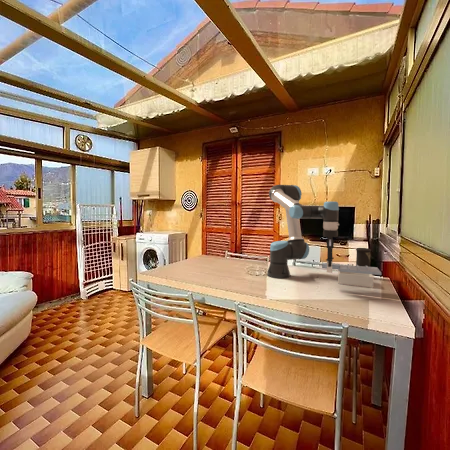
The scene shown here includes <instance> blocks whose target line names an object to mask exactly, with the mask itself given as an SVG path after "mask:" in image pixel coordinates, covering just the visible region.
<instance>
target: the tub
mask: <svg viewBox="0 0 450 450" xmlns="http://www.w3.org/2000/svg"><path fill="white" fill-rule="evenodd" d="M337 272H338V273H337V282H338V283H337V284H339V285H346V286H355V287H363V288H372V289H373V288H374V279H375V278H374V274H363V273H352V272H341V271H339V270H338V271H337Z"/></svg>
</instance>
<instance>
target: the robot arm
mask: <svg viewBox="0 0 450 450" xmlns="http://www.w3.org/2000/svg"><path fill="white" fill-rule="evenodd" d="M268 196H269V199H270V200H271V201H272V202H274V203H277V204H279V205H280V206H281V207H282V208H284V209H285V216H286V224H287V231H288V232H287V233H288V239H287V240H277V241H273V242H271V243H270V247H269V251H270V252H269V259H270V260H269V266H268V268H267V271H266V272H267V273H266V276H267V277H269V278H274V279H287V278H290V277H291V272H290V268H289V266H288V261H292V260H299V261H300V260H305V259H306V258H308V256H309V253H310V245H309V243H307V242H306V241H305V238H303V235H302V230H301V223H300V221H301V220H300V219H317V220H318V219H322V220H323V223H322V228H323V230H322V231H323V232H322V236H323V238H324V237H325V238H327V239H326V242H325V243H326V249H327V252H326V253H327V255H326V256H327V257H326V259H325V261H326V263H327V269H326V273H331V274H333V269H332V263H333V260H334V258H335V257H334V256H333V250H334V244H335V240H334V239H333V238H338V236H339V230H338V229H339V226H340V223H339V213H340V212H339V210H340V207H339V202H338V201H324V202H323V205H303V204H301V203H300V201H301V199H302V190H301V188H300V186H298V185H297V184H296V185H295V184H275V185H273V186H272V187H270V189H269V191H268Z"/></svg>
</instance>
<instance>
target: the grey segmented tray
mask: <svg viewBox="0 0 450 450" xmlns="http://www.w3.org/2000/svg"><path fill="white" fill-rule="evenodd" d="M321 269H326V270H327V262H322V263H321ZM332 270H336V271H337V270H339V271H341V272H352V273H363V274H372V275H373V276H375V275H376V276H382V271H381V270H380V269H379V268H378V266H377V267H376V266H370V267H368V266H366V267H365V266H358V265H356V264H355V265H350V264H349V263H348V264H340V263H334V262H332Z"/></svg>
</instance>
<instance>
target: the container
mask: <svg viewBox="0 0 450 450" xmlns="http://www.w3.org/2000/svg"><path fill="white" fill-rule="evenodd" d="M355 251H356V261H355V266H356V265H358V266H365V267H366V266H368V267H371V253H372V249H371V248H367V247H357V248H355Z"/></svg>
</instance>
